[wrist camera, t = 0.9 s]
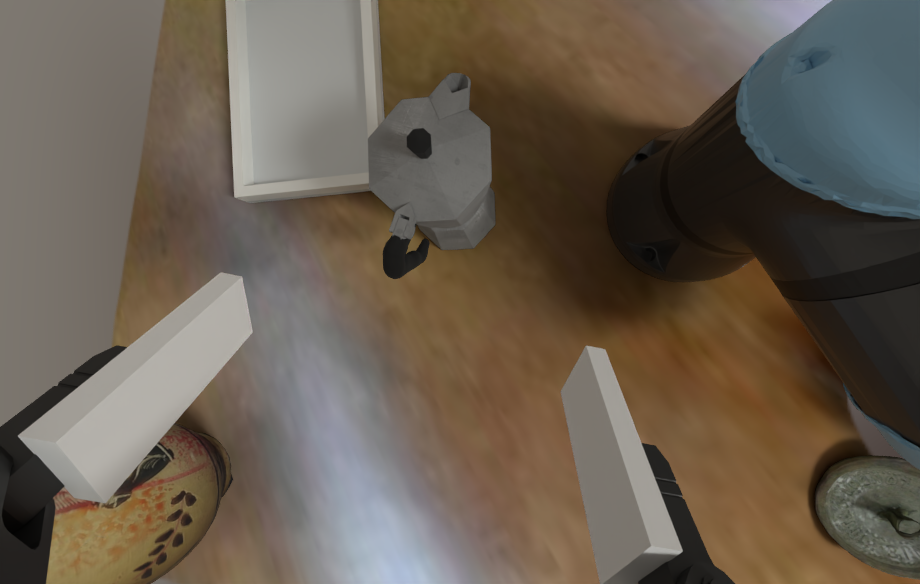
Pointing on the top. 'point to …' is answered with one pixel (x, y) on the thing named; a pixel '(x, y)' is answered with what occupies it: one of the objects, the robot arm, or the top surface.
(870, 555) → the lid
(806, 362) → the top surface
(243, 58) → the docking tray
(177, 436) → the ceramic jug
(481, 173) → the coffeepot
